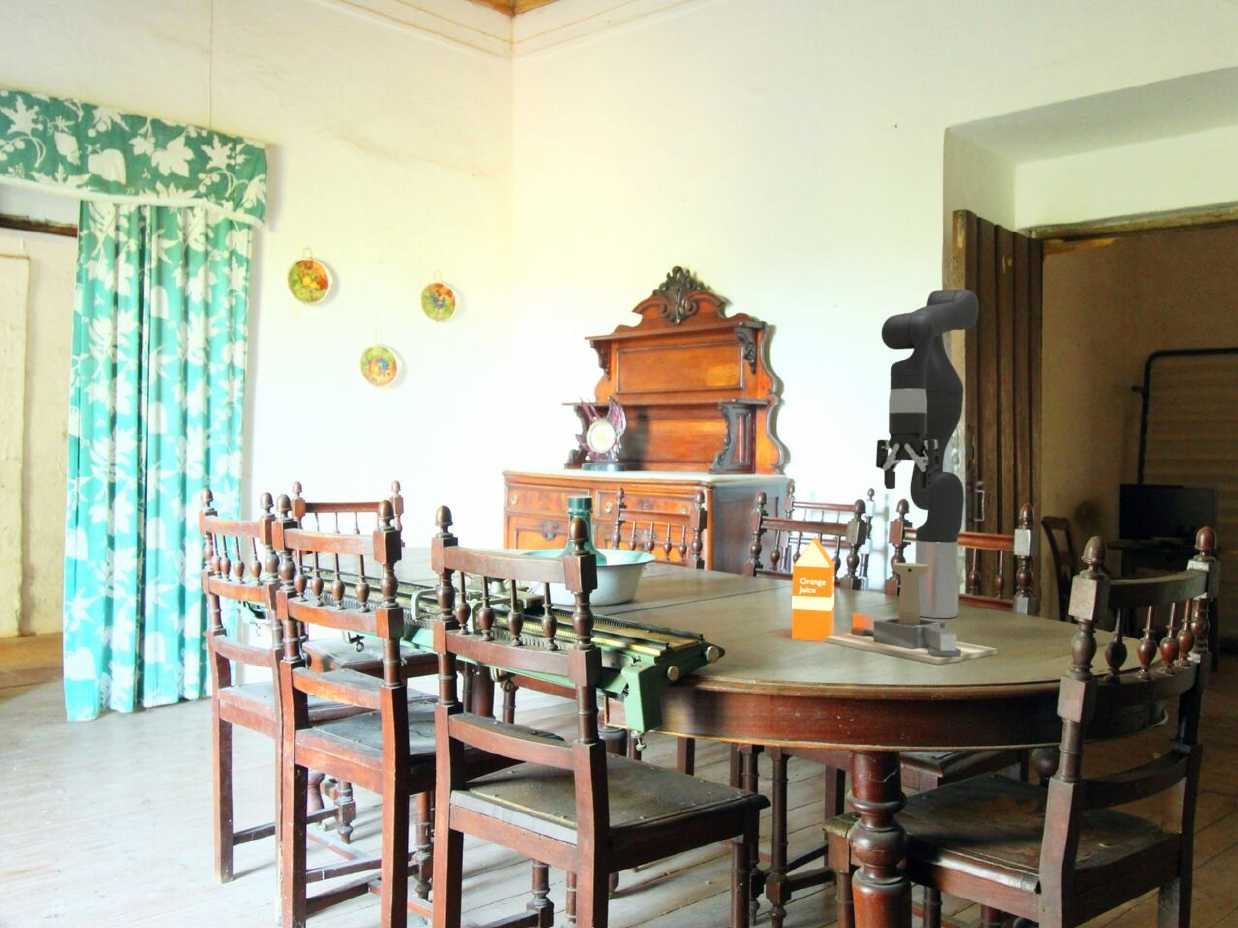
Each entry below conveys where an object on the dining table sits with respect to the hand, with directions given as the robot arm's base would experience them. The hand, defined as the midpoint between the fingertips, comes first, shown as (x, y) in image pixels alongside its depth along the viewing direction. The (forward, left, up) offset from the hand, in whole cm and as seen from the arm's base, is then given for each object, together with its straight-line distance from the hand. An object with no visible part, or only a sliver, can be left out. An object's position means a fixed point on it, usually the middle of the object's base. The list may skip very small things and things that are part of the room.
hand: (907, 489), depth 214 cm
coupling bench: (+13, +11, -30) cm, 34 cm away
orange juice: (+19, -8, -30) cm, 37 cm away
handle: (+13, +11, -29) cm, 33 cm away
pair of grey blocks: (+16, +11, -29) cm, 35 cm away
